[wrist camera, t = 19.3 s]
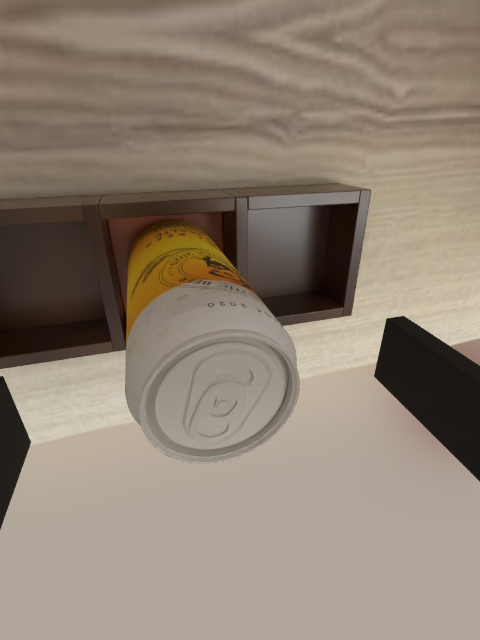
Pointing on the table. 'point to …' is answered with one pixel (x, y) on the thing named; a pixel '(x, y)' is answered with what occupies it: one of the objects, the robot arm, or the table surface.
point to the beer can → (202, 350)
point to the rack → (140, 213)
